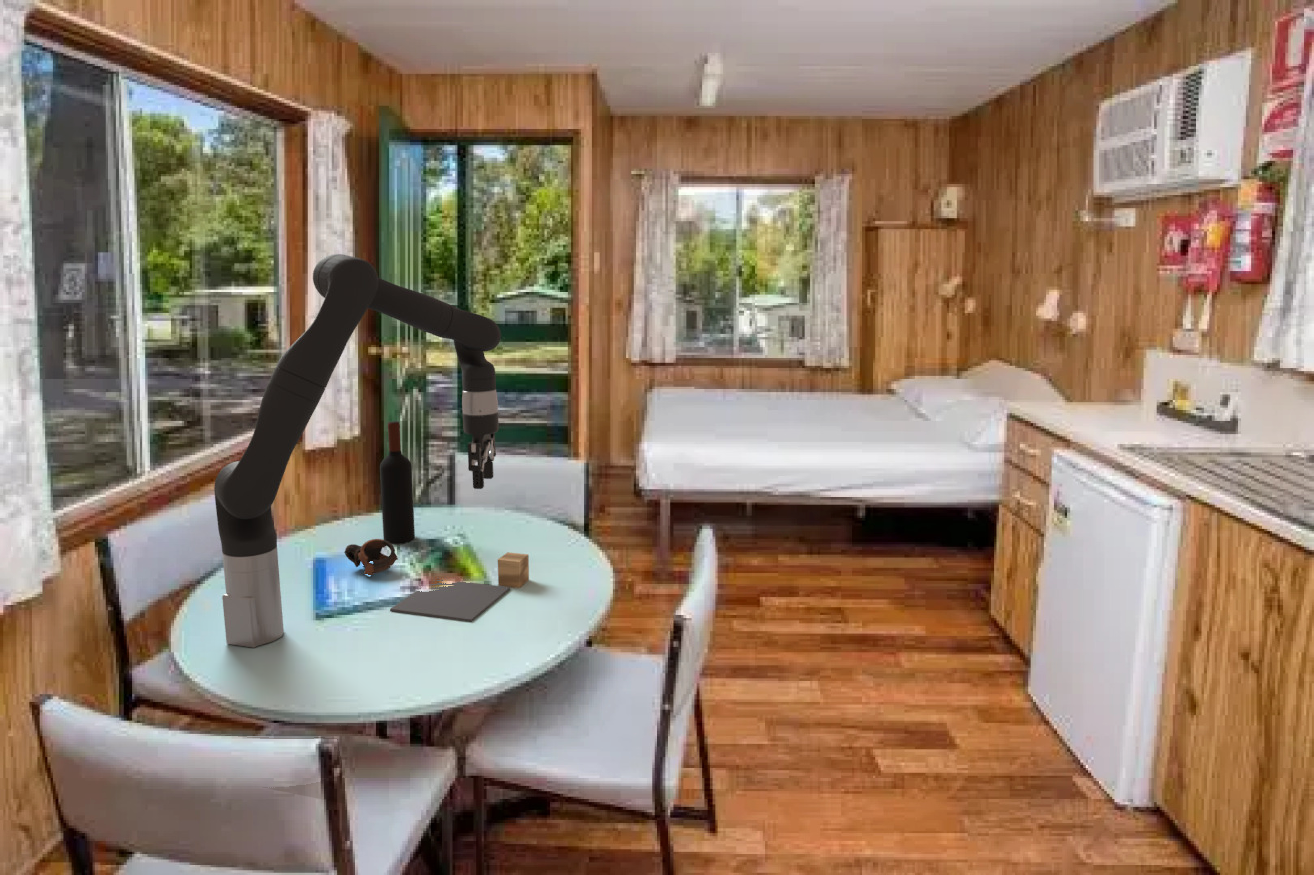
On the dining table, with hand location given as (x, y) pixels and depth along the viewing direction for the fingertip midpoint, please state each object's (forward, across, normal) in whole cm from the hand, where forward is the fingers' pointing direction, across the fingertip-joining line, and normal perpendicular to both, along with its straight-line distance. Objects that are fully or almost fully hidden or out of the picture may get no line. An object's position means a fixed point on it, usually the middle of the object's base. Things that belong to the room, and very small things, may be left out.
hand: (483, 483), depth 196 cm
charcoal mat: (+21, -14, +4) cm, 26 cm away
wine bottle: (+22, +24, +28) cm, 43 cm away
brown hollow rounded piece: (+22, +2, +27) cm, 35 cm away
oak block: (+22, -3, -7) cm, 23 cm away
